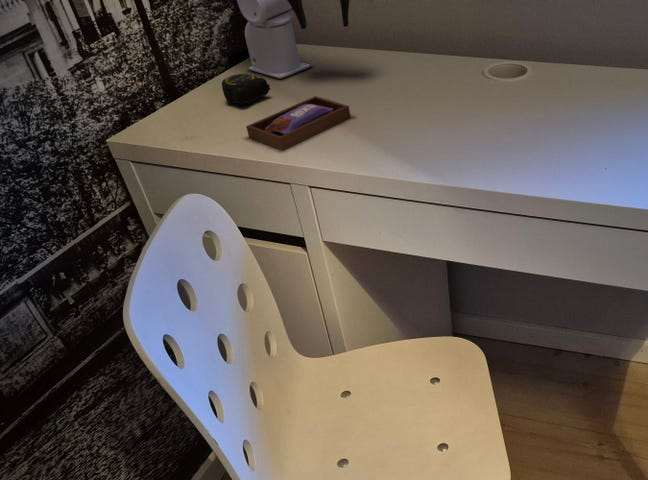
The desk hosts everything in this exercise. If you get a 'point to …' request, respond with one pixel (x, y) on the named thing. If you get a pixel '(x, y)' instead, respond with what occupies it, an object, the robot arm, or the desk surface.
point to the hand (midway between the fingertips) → (325, 26)
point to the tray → (301, 133)
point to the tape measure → (244, 88)
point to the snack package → (298, 118)
